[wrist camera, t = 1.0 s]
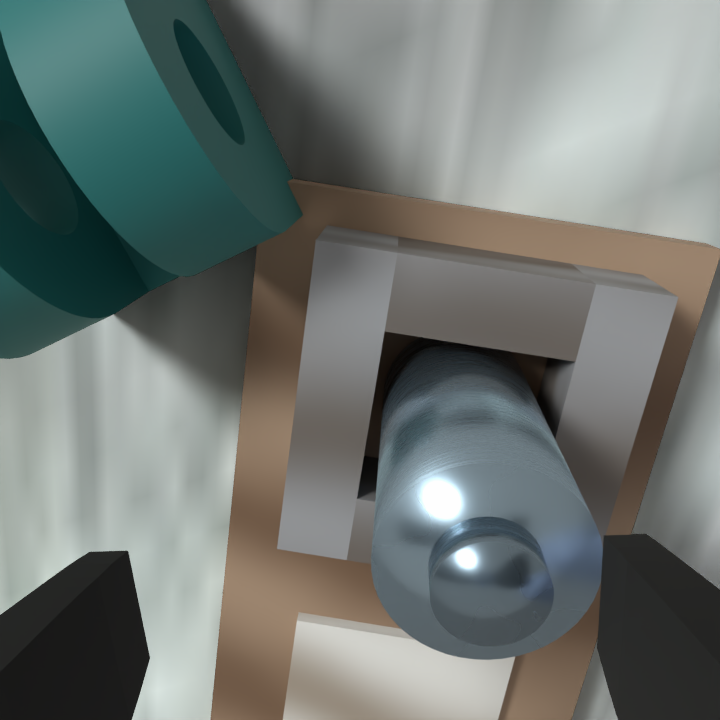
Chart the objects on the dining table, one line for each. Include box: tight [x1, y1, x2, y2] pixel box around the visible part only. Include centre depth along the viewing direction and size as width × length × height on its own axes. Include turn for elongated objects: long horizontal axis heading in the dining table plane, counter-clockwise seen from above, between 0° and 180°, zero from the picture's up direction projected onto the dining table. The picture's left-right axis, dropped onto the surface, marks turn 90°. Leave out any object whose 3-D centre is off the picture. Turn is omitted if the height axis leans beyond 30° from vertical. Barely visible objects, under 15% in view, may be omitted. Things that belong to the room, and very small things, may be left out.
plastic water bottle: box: [371, 337, 603, 660], centre depth 15 cm, size 4×4×9 cm
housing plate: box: [211, 179, 720, 720], centre depth 21 cm, size 22×12×4 cm, turn 172°
